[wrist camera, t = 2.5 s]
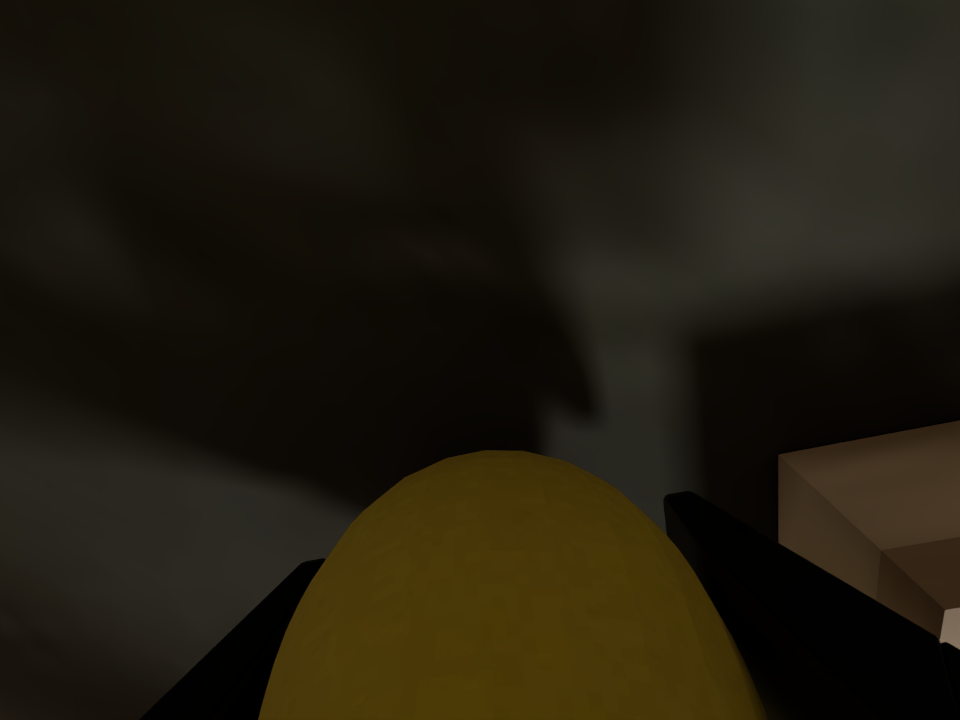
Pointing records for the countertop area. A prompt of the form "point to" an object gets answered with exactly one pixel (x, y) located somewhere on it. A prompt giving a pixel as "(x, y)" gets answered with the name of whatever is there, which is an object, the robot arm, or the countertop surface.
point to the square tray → (882, 519)
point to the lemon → (507, 608)
